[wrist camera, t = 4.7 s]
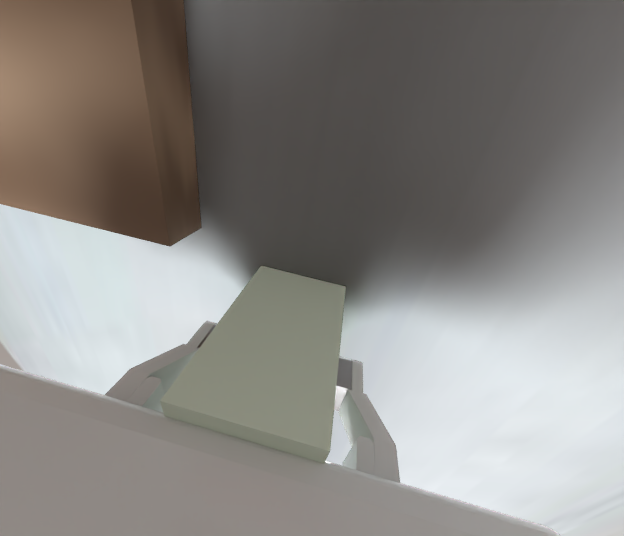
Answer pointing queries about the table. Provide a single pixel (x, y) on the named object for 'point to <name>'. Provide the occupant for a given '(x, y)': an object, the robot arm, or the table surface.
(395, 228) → the table surface
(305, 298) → the sage block
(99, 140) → the walnut base
